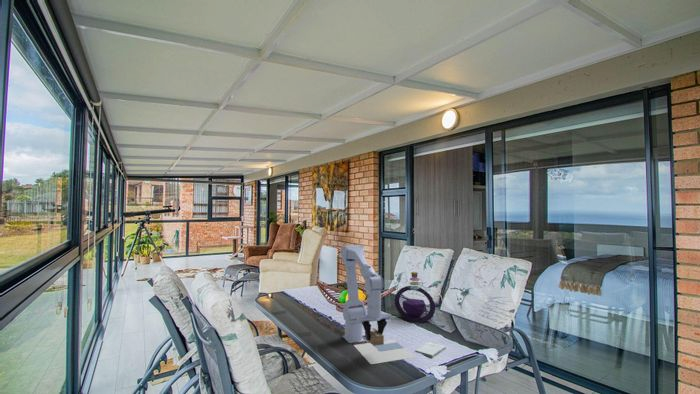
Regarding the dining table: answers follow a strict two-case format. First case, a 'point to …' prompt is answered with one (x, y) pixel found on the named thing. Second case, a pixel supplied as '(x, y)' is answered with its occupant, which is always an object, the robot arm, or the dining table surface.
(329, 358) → the dining table surface
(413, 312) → the decorative bottle
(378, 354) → the mat
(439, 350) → the external hard drive
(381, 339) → the cardboard box
